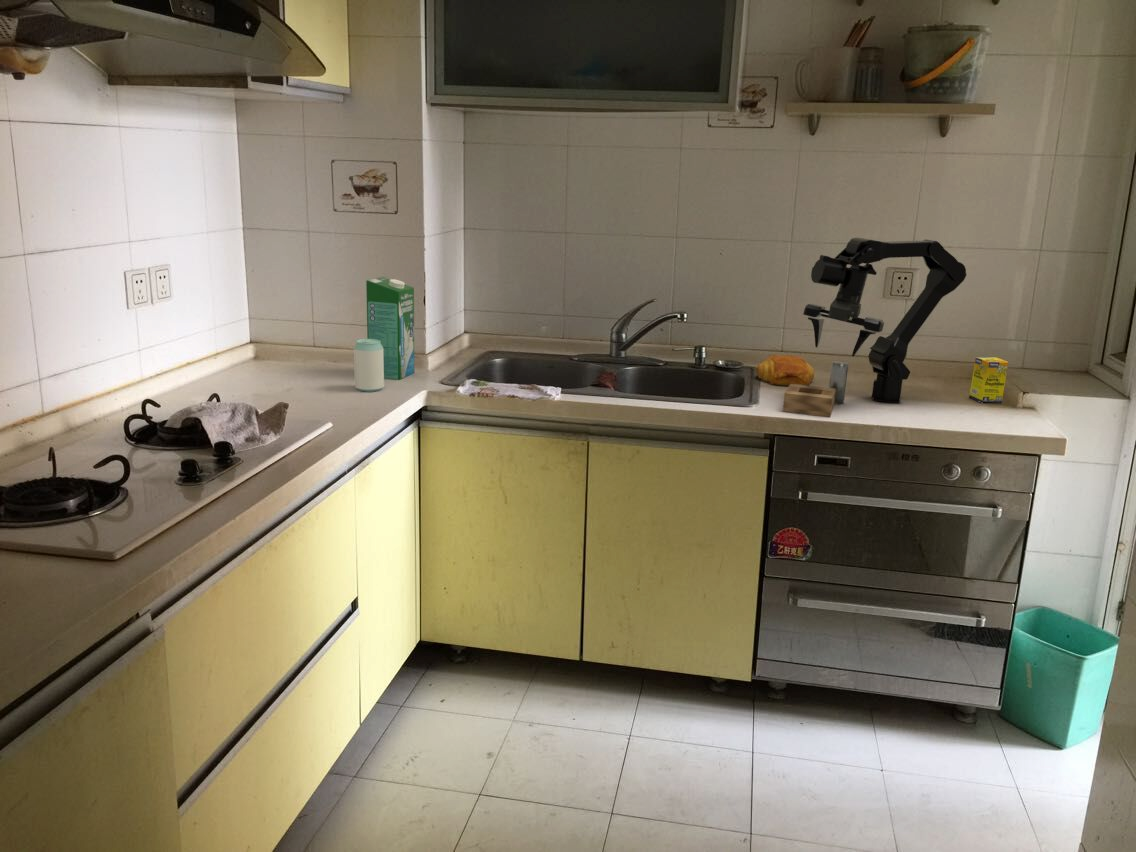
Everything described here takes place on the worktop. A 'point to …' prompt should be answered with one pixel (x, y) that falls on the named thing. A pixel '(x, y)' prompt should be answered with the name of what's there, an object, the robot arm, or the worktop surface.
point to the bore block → (809, 400)
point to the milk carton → (392, 324)
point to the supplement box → (988, 379)
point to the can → (368, 365)
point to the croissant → (785, 370)
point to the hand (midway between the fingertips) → (834, 351)
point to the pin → (838, 380)
